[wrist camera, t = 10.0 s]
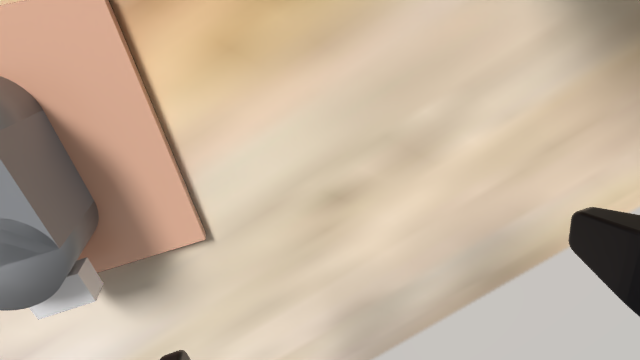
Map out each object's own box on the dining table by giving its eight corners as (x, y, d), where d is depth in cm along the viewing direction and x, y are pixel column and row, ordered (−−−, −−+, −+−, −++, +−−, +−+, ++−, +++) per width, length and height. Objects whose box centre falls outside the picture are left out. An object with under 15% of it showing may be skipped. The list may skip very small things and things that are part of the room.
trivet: (102, -13, 14) (98, -15, 13) (205, 233, 19) (205, 239, 19) (-254, 58, 12) (-276, 60, 12) (-35, 307, 18) (-43, 315, 17)
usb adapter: (-100, 86, 13) (-218, 108, 10) (15, 60, 14) (-57, 72, 10) (45, 286, 18) (0, 352, 14) (127, 260, 18) (105, 318, 15)
